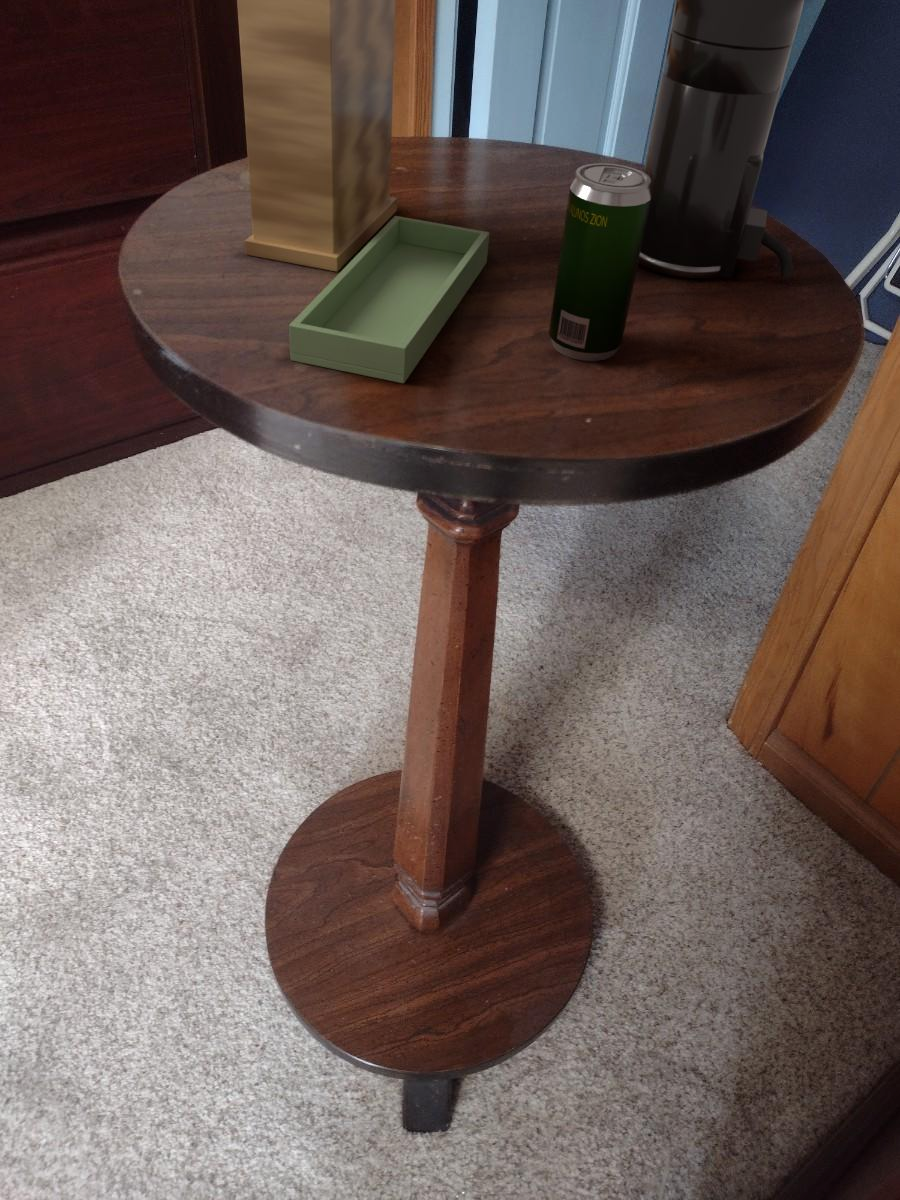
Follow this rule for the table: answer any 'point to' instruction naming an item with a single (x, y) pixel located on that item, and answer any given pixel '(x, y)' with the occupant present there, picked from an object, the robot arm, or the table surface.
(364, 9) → the stand
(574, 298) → the beer can
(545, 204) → the table surface
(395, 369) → the green rectangular tray
